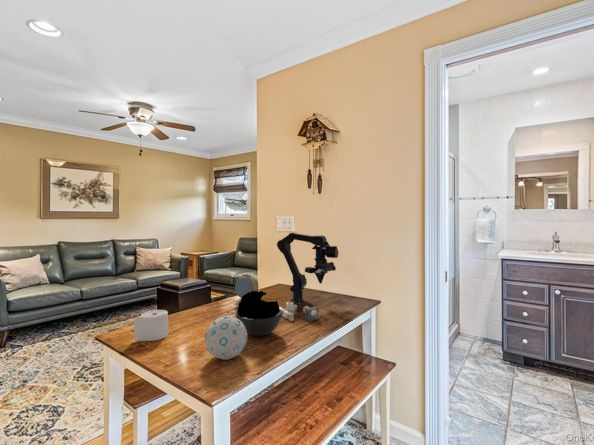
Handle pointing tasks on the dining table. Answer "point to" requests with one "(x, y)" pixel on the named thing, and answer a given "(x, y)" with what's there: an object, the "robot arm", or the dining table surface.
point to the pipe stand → (311, 313)
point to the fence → (287, 314)
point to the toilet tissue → (151, 326)
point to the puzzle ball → (226, 337)
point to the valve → (294, 306)
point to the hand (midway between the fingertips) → (320, 283)
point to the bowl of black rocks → (258, 314)
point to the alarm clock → (245, 286)
